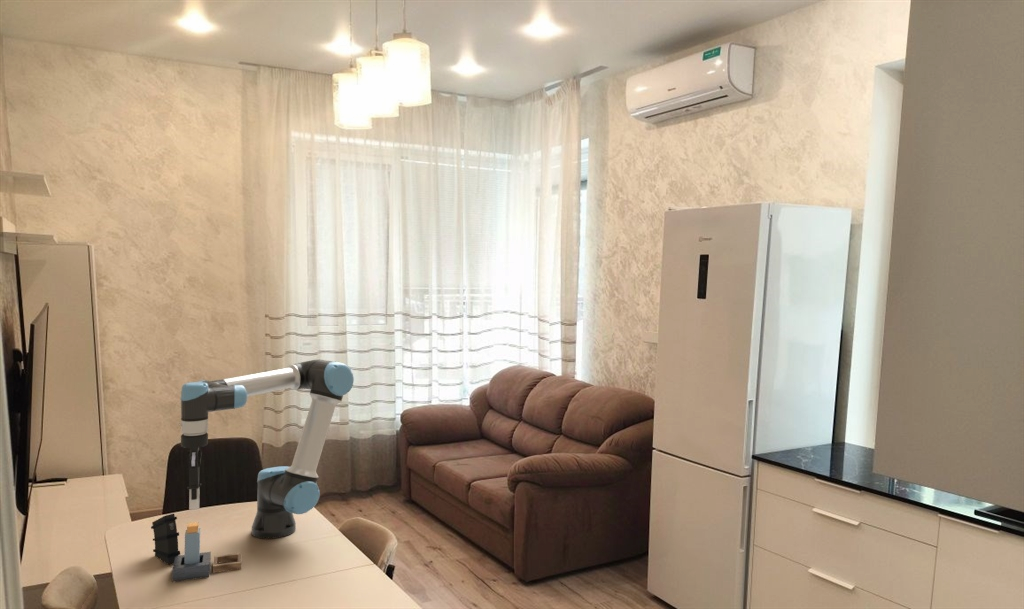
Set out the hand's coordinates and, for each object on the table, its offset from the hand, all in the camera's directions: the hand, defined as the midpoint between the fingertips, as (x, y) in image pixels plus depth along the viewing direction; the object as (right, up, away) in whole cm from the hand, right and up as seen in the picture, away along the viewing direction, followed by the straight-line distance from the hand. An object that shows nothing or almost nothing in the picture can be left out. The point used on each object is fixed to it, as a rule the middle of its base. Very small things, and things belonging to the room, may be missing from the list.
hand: (194, 508), depth 198 cm
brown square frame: (+8, -20, +6) cm, 22 cm away
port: (-1, -20, 0) cm, 20 cm away
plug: (-1, -20, 0) cm, 20 cm away
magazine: (-15, -20, +10) cm, 26 cm away
